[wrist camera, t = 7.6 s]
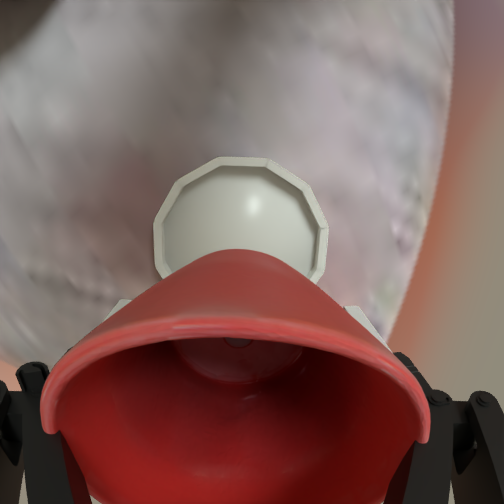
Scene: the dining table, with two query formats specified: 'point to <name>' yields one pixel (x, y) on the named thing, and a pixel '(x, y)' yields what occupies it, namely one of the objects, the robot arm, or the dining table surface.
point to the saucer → (241, 216)
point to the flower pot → (234, 394)
